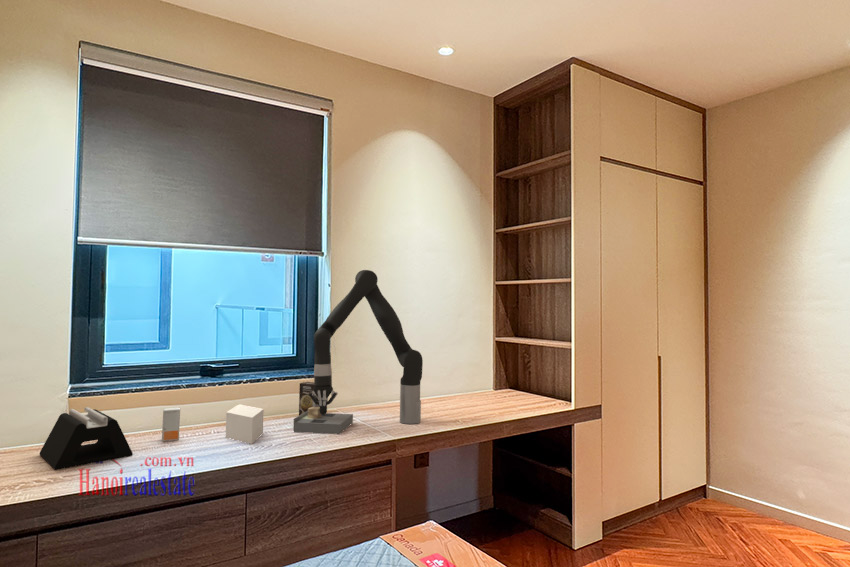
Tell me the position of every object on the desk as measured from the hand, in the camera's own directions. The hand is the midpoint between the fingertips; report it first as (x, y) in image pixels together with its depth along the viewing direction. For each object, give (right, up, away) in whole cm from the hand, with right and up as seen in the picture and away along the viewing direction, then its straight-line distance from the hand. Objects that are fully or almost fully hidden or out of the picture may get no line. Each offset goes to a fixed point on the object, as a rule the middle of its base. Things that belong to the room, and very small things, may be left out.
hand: (323, 414), depth 222 cm
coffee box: (-10, -7, +19) cm, 23 cm away
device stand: (-74, -3, -45) cm, 86 cm away
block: (-4, -2, +1) cm, 5 cm away
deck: (0, -6, 0) cm, 6 cm away
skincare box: (-55, -4, -23) cm, 60 cm away
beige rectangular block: (-29, -5, -15) cm, 33 cm away
